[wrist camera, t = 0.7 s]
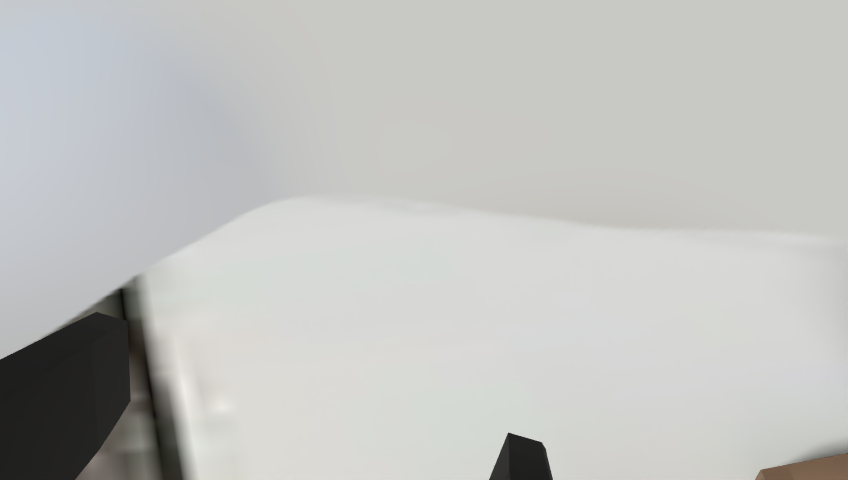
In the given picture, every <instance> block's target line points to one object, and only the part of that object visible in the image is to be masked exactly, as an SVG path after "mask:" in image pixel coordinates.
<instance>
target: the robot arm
mask: <svg viewBox="0 0 848 480" xmlns="http://www.w3.org/2000/svg"><path fill="white" fill-rule="evenodd" d="M130 401H131V400H130V375H129V350H128V325H127V321H125V320H122V319H118V318H115V317H111V316H108V315H105V314H101V313H98V312H96V313H93V314H91V315H89V316H87V317H85V318H83V319H81V320H79V321H77V322H75V323H73V324H71V325H69V326H67V327H65V328H63V329H61V330H59V331H57V332H55V333H53V334H51V335H49V336H47V337H45V338H43V339H41V340H39V341H37V342H35V343H33V344H31V345H29V346H27V347H25V348H23V349H21V350H19V351H17V352H15V353H13V354H11V355H9V356H7V357H5V358H3V359H1V360H0V480H75V479H76V478H77V476H78V475H79V474H80V473H81V471H82V470H83V469H84V468H85V467H86V465H87V464H88V463H89V462H90V460H91V459H92V458H93V457H94V455H95V454H96V453H97V452H98V450H99V449H100V448H101V446H102V445H103V443H104V442H105V440H106V439H107V437H108V436H109V434H110V432H111V431H112V429H113V428H114V426H115V425H116V423H117V422H118V420H119V418H120V417H121V415H122V413H123V412H124V410H125V409H126V407H127V405H128V404H129V402H130ZM489 480H553V478H552V474H551V470H550V466H549V462H548V458H547V453H546V449H545V447H544V445H543V444H542V442H539V441H535V440H532V439H528V438H525V437H522V436H518V435H515V434H511V433H508V435H507V437H506V439H505V442H504V444H503V447H502V449H501V452H500V454H499V457H498V459H497V462H496V464H495V467H494V469H493V472H492V474H491V476H490V479H489Z"/></svg>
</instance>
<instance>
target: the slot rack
mask: <svg viewBox="0 0 848 480" xmlns="http://www.w3.org/2000/svg"><path fill="white" fill-rule="evenodd" d="M755 480H848V453H847V454H841V455H836V456H831V457H825V458H820V459H815V460H810V461H804V462H799V463H794V464H789V465H783V466H778V467H773V468H768V469H762V470H760V472H759V474H758V475H757V477H756V479H755Z"/></svg>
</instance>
